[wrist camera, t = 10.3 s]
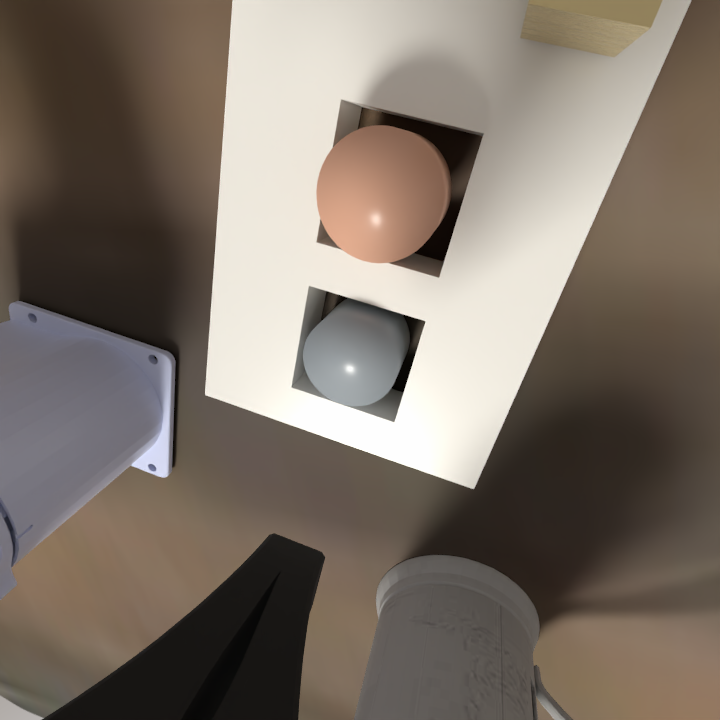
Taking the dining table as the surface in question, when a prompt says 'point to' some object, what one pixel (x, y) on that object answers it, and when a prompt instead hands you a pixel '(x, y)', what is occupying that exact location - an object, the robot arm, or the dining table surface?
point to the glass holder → (453, 646)
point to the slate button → (356, 352)
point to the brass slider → (589, 23)
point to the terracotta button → (383, 193)
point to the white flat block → (415, 272)
